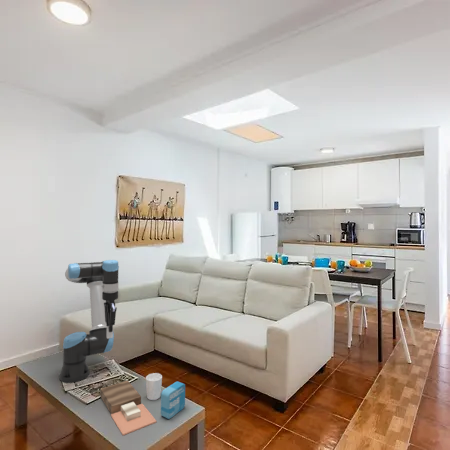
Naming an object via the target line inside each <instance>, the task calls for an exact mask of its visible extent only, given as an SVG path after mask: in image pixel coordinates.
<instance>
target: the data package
mask: <svg viewBox="0 0 450 450" xmlns="http://www.w3.org/2000/svg"><path fill="white" fill-rule="evenodd" d="M185 405H186V384H185V383H183V382H180V381H175V382H174V383H172V384H170V385H169V386H167V387H166V388H164V389H162V390H161V396H160V415H161V416H162V417H163V418H165V419H168V420H169V419H171V418H173V417H174V416H175V415H177V414H178V413H179V412H181V411H182V410H183V409H184V408H185V407H186V406H185Z"/></svg>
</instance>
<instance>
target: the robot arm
mask: <svg viewBox="0 0 450 450" xmlns="http://www.w3.org/2000/svg"><path fill="white" fill-rule="evenodd" d="M119 268H120V266H119V261H118V260H116V259H106V260H102V261H96V262H74V263H69V264H68V266H67V268H66V270H65V273H64V275H65V279H66V280H67V281H69V282H71V283H73V284H86V287H88V288H89V300H90V301H89V303H90V318H91V328H90V329H89V330H88V334H87V332H85V331H76V332H73V333H70V334H68V335H66V336H65V337H64V339H63V342H62V344H63V345H62V348H63V349H62V354H63V355H62V365H61V369H60V371H59V376H58V378H59V381H61V382H62V381H63V382H62V383H77V382H81V381H82V380H85V379H86V378H88V376H89V375H90V368H89V366H88V362H87V357H88V356H93V355H97V354H98V355H100V354H104V353H105V354H106V353H108V352H111V351H112V349H113V347H114V342H115V341H114V340H115V339H114V338H115V334H114V326H115V323H116V315H117V309H118V308H117V307H116V302H115V300H117V299H119V291H118V290H119Z"/></svg>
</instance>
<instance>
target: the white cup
mask: <svg viewBox="0 0 450 450" xmlns="http://www.w3.org/2000/svg"><path fill="white" fill-rule="evenodd" d="M162 380H163V375H162V374H161V373H159V372H155V373H154V372H153V373H149V374H148V375H146V376H145V385H146V386H145V387H146V388H145V389H146V390H145V391H146V397H147V400H151V401H156V400H158V399H161V393H162V387H163V386H162V383H163V381H162Z"/></svg>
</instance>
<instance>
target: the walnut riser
mask: <svg viewBox="0 0 450 450" xmlns="http://www.w3.org/2000/svg"><path fill="white" fill-rule="evenodd" d="M99 392H100V393H99V395H100V399H101V400H102V402H103V403H104V405H105V406H106V408H107V410H108V411H109V413H110V415H111V414H114V413H117V412H120V411H121V406H122V405H125V404H128V403H131V402H134V403H135V404H136V406H137V405H139V404H142V396H141V395H140V394H139V392H138V391H137V390H136V388H135V387H134V386H133V385H132V383H130V381H129V380H125V381H121V382H117V383H115V384H112V385H109V386H105V387H101V388H100V390H99Z"/></svg>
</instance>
